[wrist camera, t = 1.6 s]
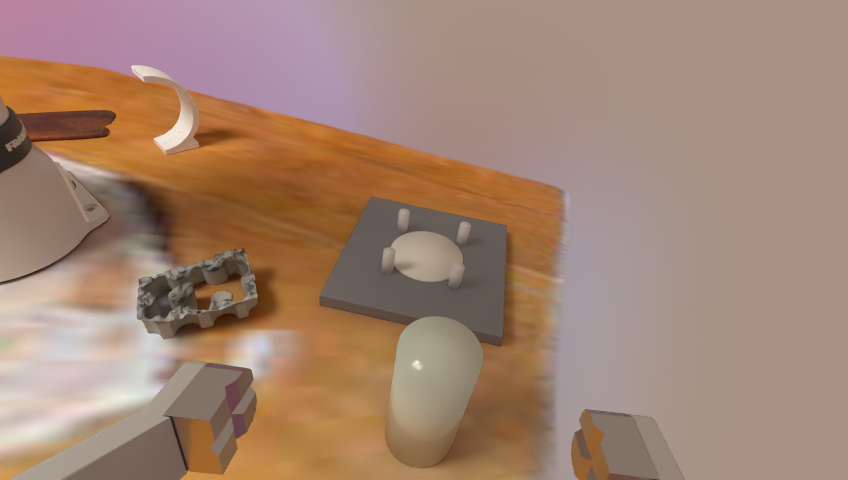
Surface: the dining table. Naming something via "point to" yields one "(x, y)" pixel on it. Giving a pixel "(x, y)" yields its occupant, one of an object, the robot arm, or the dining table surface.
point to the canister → (430, 389)
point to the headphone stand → (189, 116)
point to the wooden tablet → (67, 124)
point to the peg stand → (422, 268)
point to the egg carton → (185, 297)
